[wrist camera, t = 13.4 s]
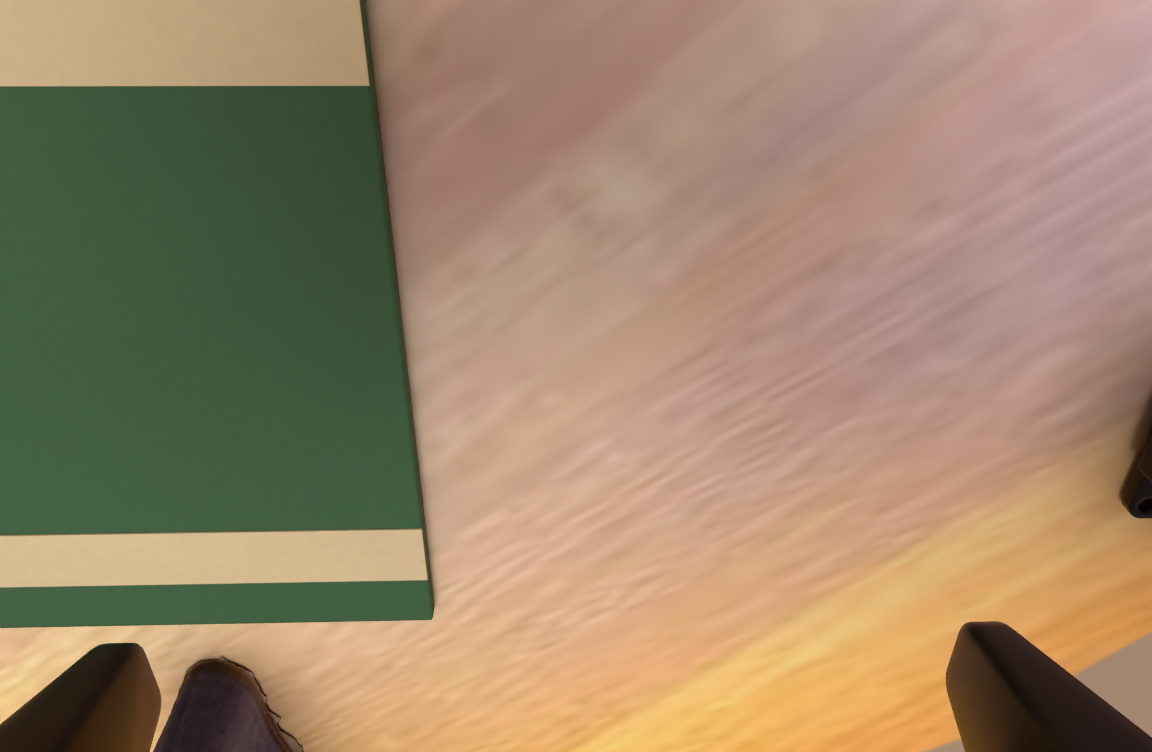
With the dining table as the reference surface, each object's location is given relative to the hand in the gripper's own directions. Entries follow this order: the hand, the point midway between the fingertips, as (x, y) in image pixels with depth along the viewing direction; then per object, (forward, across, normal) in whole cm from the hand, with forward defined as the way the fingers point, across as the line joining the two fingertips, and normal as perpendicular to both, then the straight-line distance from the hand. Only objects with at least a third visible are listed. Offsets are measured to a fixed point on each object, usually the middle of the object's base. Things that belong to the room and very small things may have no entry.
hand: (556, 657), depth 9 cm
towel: (+13, +11, +3) cm, 17 cm away
